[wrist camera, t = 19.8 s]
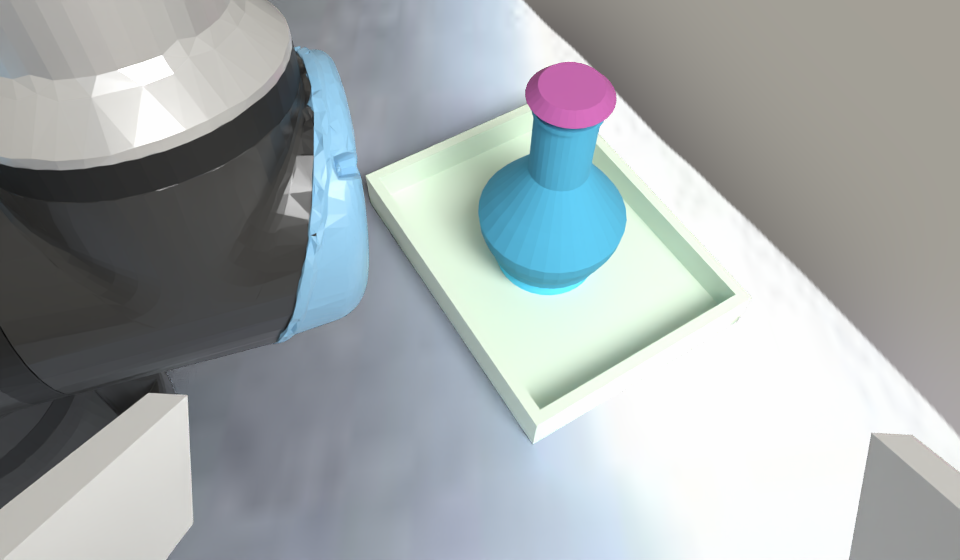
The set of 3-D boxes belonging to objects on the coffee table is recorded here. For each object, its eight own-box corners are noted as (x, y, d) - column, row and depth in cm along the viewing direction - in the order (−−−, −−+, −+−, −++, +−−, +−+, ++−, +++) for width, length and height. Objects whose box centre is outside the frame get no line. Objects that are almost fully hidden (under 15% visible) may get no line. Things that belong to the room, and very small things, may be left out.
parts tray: (370, 202, 52) (365, 175, 50) (554, 119, 57) (557, 90, 54) (532, 444, 43) (536, 425, 41) (736, 321, 48) (751, 297, 45)
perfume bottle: (463, 212, 51) (461, 39, 38) (588, 189, 52) (627, 13, 40) (496, 325, 46) (507, 170, 34) (633, 296, 48) (693, 136, 35)
